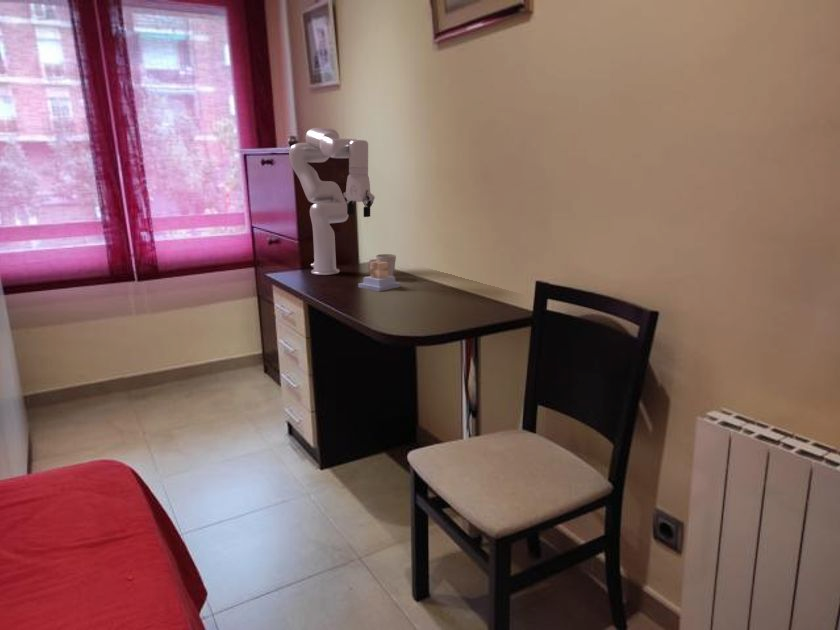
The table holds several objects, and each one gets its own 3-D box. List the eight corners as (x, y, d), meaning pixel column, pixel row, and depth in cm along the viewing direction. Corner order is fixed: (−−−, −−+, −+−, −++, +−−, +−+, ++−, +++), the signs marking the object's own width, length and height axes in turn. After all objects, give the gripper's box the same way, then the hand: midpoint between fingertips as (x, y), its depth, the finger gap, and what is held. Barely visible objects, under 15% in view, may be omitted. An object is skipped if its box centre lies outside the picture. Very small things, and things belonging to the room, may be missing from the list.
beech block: (370, 277, 235) (370, 262, 234) (379, 275, 239) (378, 260, 238) (379, 278, 232) (378, 263, 231) (388, 277, 236) (387, 262, 234)
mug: (395, 280, 250) (395, 257, 247) (365, 280, 250) (365, 257, 247) (396, 276, 258) (396, 254, 255) (368, 276, 258) (367, 254, 255)
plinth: (358, 287, 236) (358, 277, 235) (379, 282, 245) (379, 273, 244) (379, 291, 228) (379, 281, 227) (400, 286, 237) (400, 276, 236)
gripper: (337, 171, 237) (337, 214, 242) (366, 173, 226) (366, 218, 231) (351, 170, 242) (351, 212, 247) (380, 173, 232) (380, 217, 236)
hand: (358, 215), depth 239 cm, fingers open, 9 cm apart
